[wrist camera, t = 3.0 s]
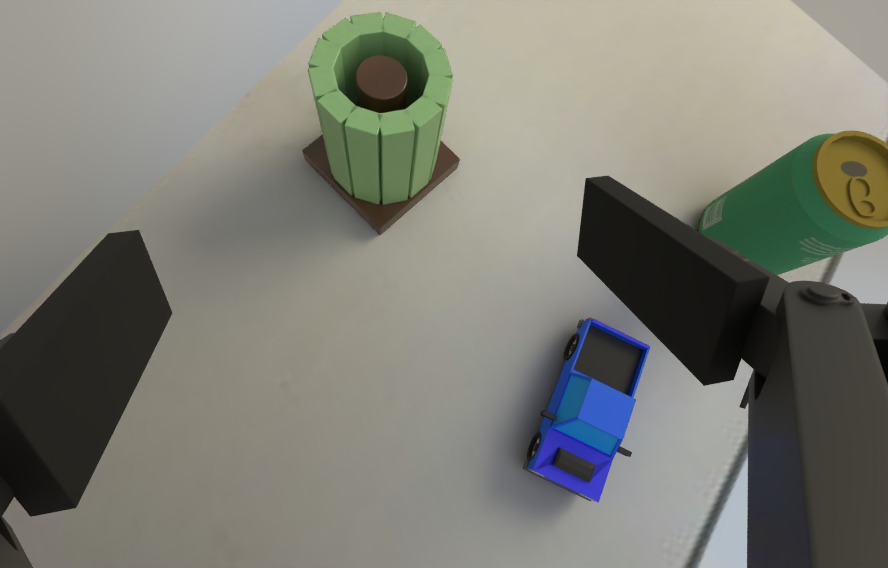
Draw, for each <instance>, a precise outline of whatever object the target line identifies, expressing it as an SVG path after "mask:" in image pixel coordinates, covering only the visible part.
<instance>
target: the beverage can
mask: <svg viewBox="0 0 888 568" xmlns="http://www.w3.org/2000/svg"><path fill="white" fill-rule="evenodd" d="M698 232H699V233H701V234H702V235H704V236H707V237H710V238H713V239H715V240H718V241H721V242H723V243H725V244H726V245H728V246H730V247H731V248H733V249H735V250H736V251H737V253H741V254H743V255H744V256H746V257H748V258H749V260H750V261H754V262H756V263H757V264H759V265H761V266H762V267H764V268H766V269H767V270H769V271H770V272H772V273H774V274H775V275H779V274H782V273H785V272H787V271H790V270H793V269H796V268H799V267H802V266H805V265H808V264H811V263H814V262H816V261H819V260H822V259H825V258H828V257H831V256H834V255H837V254H840V253H843V252H846V251H848V250H851V249H854V248H857V247H860V246H863V245H866V244H869V243H872V242H875V241H877V240H879V239H881V238H884V237H885V236H886V235H888V145H887V144H886V143H885V142H884V141H882V140H880V139H878V138H877V137H875V136H872V135H870V134H867V133H864V132H859V131H843V132H839V133H837V134H823V135H818V136H815V137H813V138H811V139H809V140H808V141H806V142H804V143H803V144H801V145H800V146H798V147H797V148H795V149H793V150H792V151H790V152H789V153H787V154H786V155H784V156H782V157H781V158H779V159H778V160H776V161H775V162H773V163H771V164H770V165H768V166H767V167H765V168H764V169H762V170H760V171H759V172H757V173H756V174H754V175H753V176H751V177H749V178H748V179H746V180H745V181H743V182H742V183H740V184H739V185H737V186H735V187H734V188H732V189H731V190H729V191H728V192H726V193H724V194H723V195H721V196H720V197H718V198H717V199H715V200H713V201H712V202H711V203H710V204H709V205H708V207H707V208H706V209H705V211H704V213H703V216H702V219H701V221H700V223H699V227H698Z"/></svg>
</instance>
